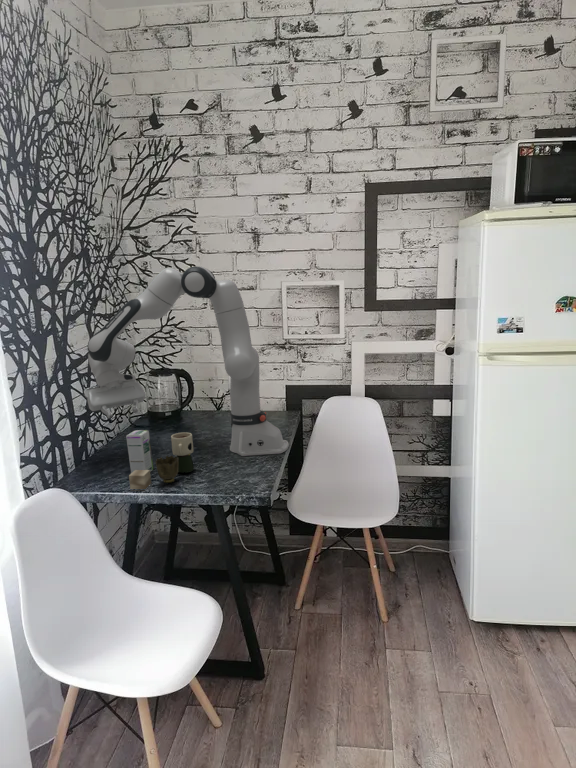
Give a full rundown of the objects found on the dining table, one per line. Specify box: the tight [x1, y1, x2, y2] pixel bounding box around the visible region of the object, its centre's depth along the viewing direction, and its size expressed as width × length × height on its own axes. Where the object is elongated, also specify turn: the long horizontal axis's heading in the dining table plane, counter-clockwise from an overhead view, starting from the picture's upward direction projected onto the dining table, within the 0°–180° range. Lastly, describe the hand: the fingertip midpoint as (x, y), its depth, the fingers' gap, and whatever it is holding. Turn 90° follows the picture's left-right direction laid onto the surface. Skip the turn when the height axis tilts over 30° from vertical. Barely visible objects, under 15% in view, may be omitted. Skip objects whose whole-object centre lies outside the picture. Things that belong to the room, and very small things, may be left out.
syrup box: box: [126, 429, 154, 474], centre depth 191 cm, size 6×6×14 cm
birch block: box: [128, 470, 152, 490], centre depth 178 cm, size 5×5×5 cm
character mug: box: [170, 431, 195, 474], centre depth 190 cm, size 11×7×13 cm, turn 3°
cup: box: [154, 454, 179, 484], centre depth 181 cm, size 8×7×8 cm
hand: (123, 414), depth 198 cm, fingers open, 8 cm apart
